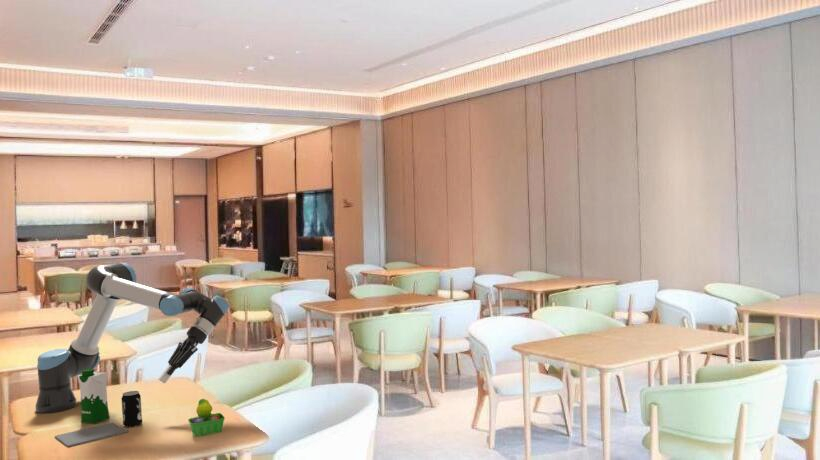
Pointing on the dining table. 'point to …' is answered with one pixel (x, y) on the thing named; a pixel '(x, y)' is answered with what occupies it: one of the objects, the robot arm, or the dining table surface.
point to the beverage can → (131, 409)
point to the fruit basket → (206, 420)
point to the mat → (90, 434)
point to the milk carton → (93, 396)
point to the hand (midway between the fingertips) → (161, 381)
